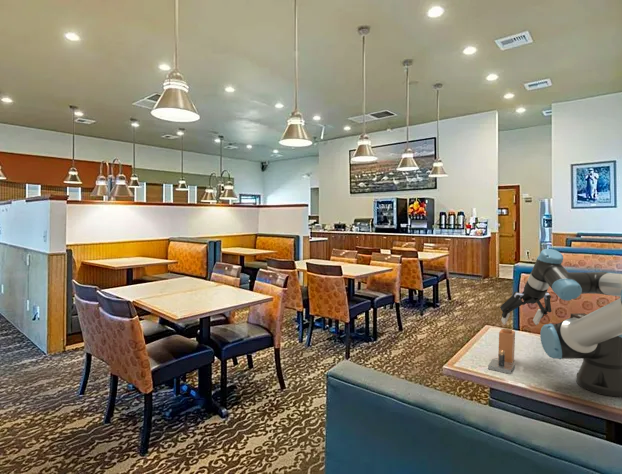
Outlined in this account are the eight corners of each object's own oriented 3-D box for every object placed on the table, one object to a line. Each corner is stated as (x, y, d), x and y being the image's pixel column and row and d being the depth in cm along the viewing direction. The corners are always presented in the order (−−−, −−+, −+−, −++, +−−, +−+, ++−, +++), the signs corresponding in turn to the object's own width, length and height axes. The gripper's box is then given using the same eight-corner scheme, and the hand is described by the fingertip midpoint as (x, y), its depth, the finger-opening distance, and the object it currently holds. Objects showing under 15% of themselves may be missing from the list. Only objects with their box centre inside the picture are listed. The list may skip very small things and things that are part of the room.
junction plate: (514, 367, 149) (515, 349, 148) (510, 374, 142) (511, 356, 142) (492, 362, 154) (493, 345, 153) (488, 368, 147) (488, 351, 147)
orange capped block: (514, 359, 156) (515, 329, 155) (511, 363, 152) (512, 332, 151) (500, 357, 159) (501, 327, 158) (498, 360, 155) (499, 330, 154)
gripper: (563, 278, 150) (543, 315, 163) (501, 277, 150) (486, 315, 162) (574, 291, 144) (553, 329, 156) (510, 290, 144) (493, 329, 156)
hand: (519, 322), depth 159 cm, fingers open, 13 cm apart
